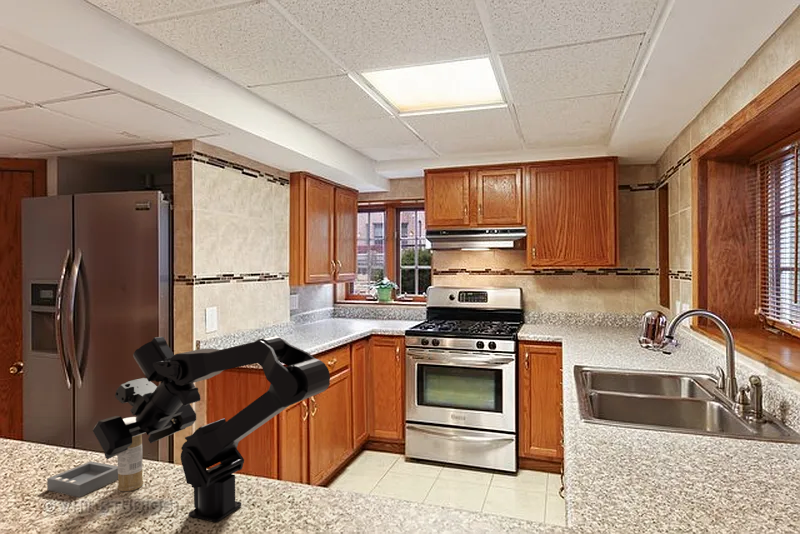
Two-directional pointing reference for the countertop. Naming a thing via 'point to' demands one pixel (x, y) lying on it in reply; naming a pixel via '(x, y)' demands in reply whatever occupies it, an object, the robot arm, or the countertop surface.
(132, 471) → the sprinkles bottle
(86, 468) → the dish
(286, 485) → the countertop surface
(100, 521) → the countertop surface
